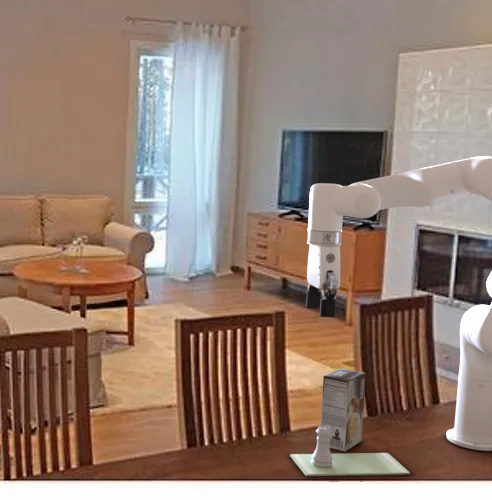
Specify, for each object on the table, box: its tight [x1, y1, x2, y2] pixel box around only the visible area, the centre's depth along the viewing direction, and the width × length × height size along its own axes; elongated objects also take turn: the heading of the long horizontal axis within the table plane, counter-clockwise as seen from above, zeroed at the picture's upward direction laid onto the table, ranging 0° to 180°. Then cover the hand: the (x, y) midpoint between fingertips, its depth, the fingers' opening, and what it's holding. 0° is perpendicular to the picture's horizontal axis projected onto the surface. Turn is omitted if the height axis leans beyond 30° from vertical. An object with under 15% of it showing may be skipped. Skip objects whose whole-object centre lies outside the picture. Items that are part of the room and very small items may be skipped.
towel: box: [289, 452, 411, 477], centre depth 176 cm, size 22×11×1 cm, turn 97°
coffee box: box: [320, 368, 367, 453], centre depth 188 cm, size 9×6×16 cm
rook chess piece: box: [311, 424, 333, 468], centre depth 174 cm, size 4×4×8 cm
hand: (319, 312), depth 193 cm, fingers open, 9 cm apart
